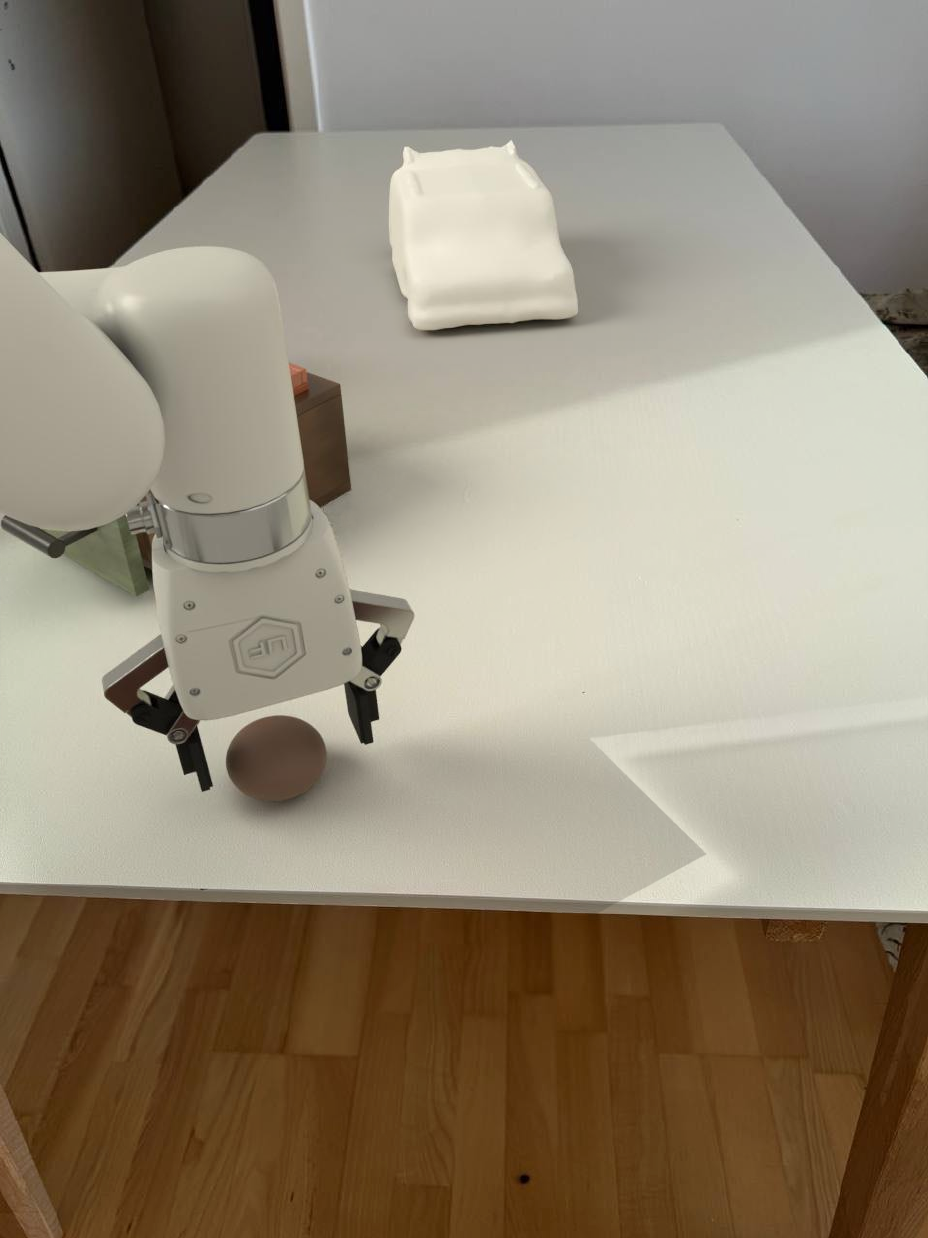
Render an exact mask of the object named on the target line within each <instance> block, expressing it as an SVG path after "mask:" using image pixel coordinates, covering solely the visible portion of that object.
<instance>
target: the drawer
mask: <svg viewBox="0 0 928 1238" xmlns="http://www.w3.org/2000/svg"><path fill="white" fill-rule="evenodd" d="M147 494H152V493H151V490H149V492H148V493H147ZM143 501H147V499H146V495H145V496H144V498H143V499H142V500H141V501H140V502H143ZM138 505H139V503H138V504H137V506H138ZM0 526H1V528H2V530H3V531H4V532H6V533H8V534H9V535H11V536H13V537H15V538H17V539H18V540H20V541H22V542H23V543H25V544H27V545H28V546H30V547H32V548H34V549H36V550H37V551H39V552H41V553H42V554H44V555H45V556H47V557H49V558H51V559H59V558H61V557H62V556H64V557H66V558H68V559H70V560H72V561H74V562H75V563H77V564H79V565H80V566H82V567H84V568H86V569H88V570H89V571H91V572H93V573H94V574H97V575H98V576H100V577H102V578H103V579H105V580H107V581H108V582H110V583H112V584H114V585H115V586H116V587H118V588H121V589H123V590H124V591H126V592H128V593H129V594H131V595H132V596H135V597H136V598H137V597H139V596H140V595H142V594H144V593H145V592H147V591H150V586H149V582H148V578H147V574H146V570H145V567H146V568H147V569H149V570H151V571H152V541H153V538H154V536H155V534H156V533H150V534H147V532H142V533H138V534H133V535H131V532H130V529H129V525H128V521H127V518H126V514H125V515H123V516H122V517H120V518H118V519H116V520H114V521H112V522H110V523H108V524H106V525H102V526H99V527H95V528H91V529H88V530H78V531H56V530H47V529H43V528H39V527H35V526H31V525H27V524H25V523H23V522H20V521H18V520H15V519H13V518H11V517H8V516H6V515H5V514H4V516H3V517H2V518H1V521H0Z"/></svg>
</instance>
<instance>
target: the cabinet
mask: <svg viewBox="0 0 928 1238" xmlns="http://www.w3.org/2000/svg"><path fill="white" fill-rule="evenodd" d="M306 372H307V380H308V382H307V383H308V388H309V389H308V390H306V391H304V392H302V393H300V394H298V395H296V396H294V401H295V408H296V414H297V421H298V428H299V434H300V441H301V448H302V454H303V461H304V468H305V475H306V481H307V488H308V495H309V499H310V500H311V501H313V502H314V503H316V504H317V505H318V506H319V507H320V508H321V507H323V506H325V505H327V504H329V503H330V502H331V501H333V500H335V499H337V498H338V497H340V496H342V495H344V494H345V493H347V492H349V491H350V490H352V482H351V473H350V472H351V471H350V463H349V454H348V443H347V434H346V425H345V423H346V422H345V414H344V404H343V395H342V388H341V387H342V385H341V383H339V382H336V381H334V380H331V379H328V378H326V377H322V376H319V375H316V374H314V373H311V372H308V371H306Z"/></svg>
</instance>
